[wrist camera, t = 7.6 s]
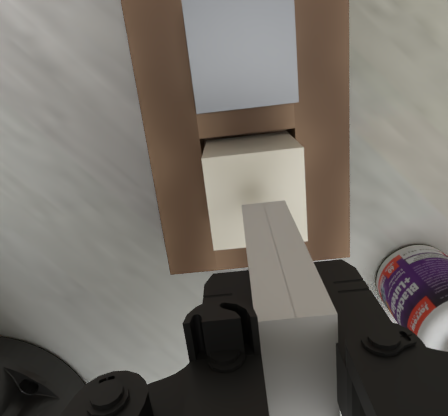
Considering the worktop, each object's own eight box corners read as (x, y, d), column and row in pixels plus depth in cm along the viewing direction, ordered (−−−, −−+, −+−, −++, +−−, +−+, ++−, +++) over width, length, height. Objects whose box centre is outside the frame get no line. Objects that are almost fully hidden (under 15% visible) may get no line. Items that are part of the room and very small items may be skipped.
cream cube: (216, 214, 23) (213, 250, 18) (206, 140, 22) (201, 158, 17) (291, 207, 23) (307, 241, 18) (286, 131, 21) (303, 147, 17)
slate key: (202, 105, 22) (196, 114, 17) (191, 17, 20) (181, -1, 15) (282, 96, 22) (298, 102, 17) (277, 6, 20) (293, -15, 15)
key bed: (177, 249, 27) (170, 274, 23) (103, -186, 19) (77, -241, 15) (334, 234, 26) (349, 257, 23) (325, -220, 18) (347, -284, 15)
